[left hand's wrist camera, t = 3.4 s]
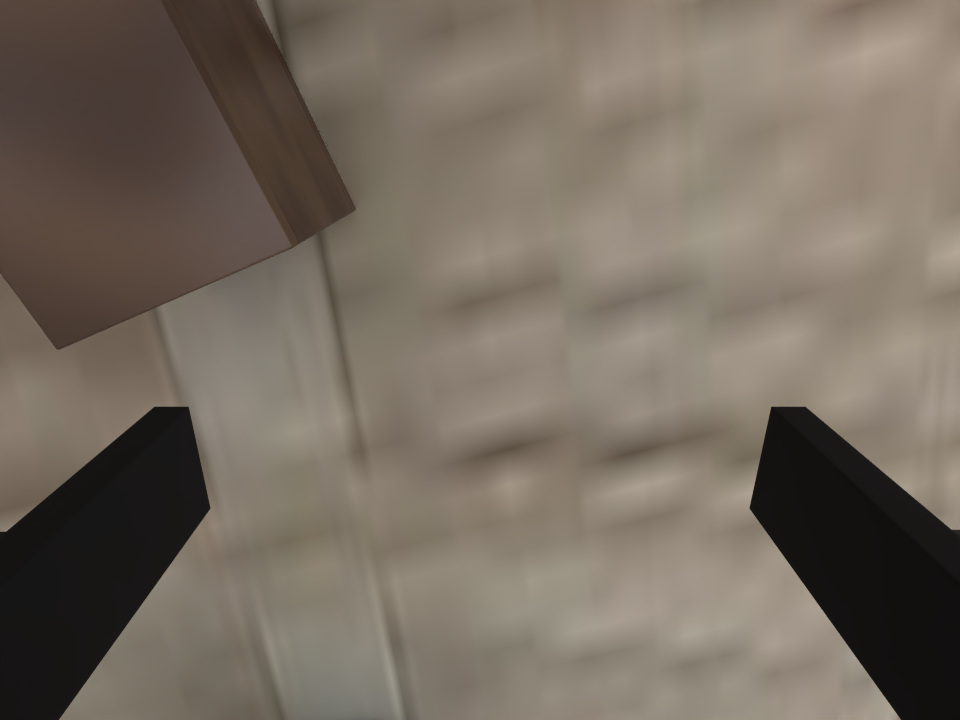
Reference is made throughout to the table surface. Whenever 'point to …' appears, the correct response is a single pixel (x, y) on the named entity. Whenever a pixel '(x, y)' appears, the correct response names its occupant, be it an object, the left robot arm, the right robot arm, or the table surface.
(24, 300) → the long brown box
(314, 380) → the table surface
